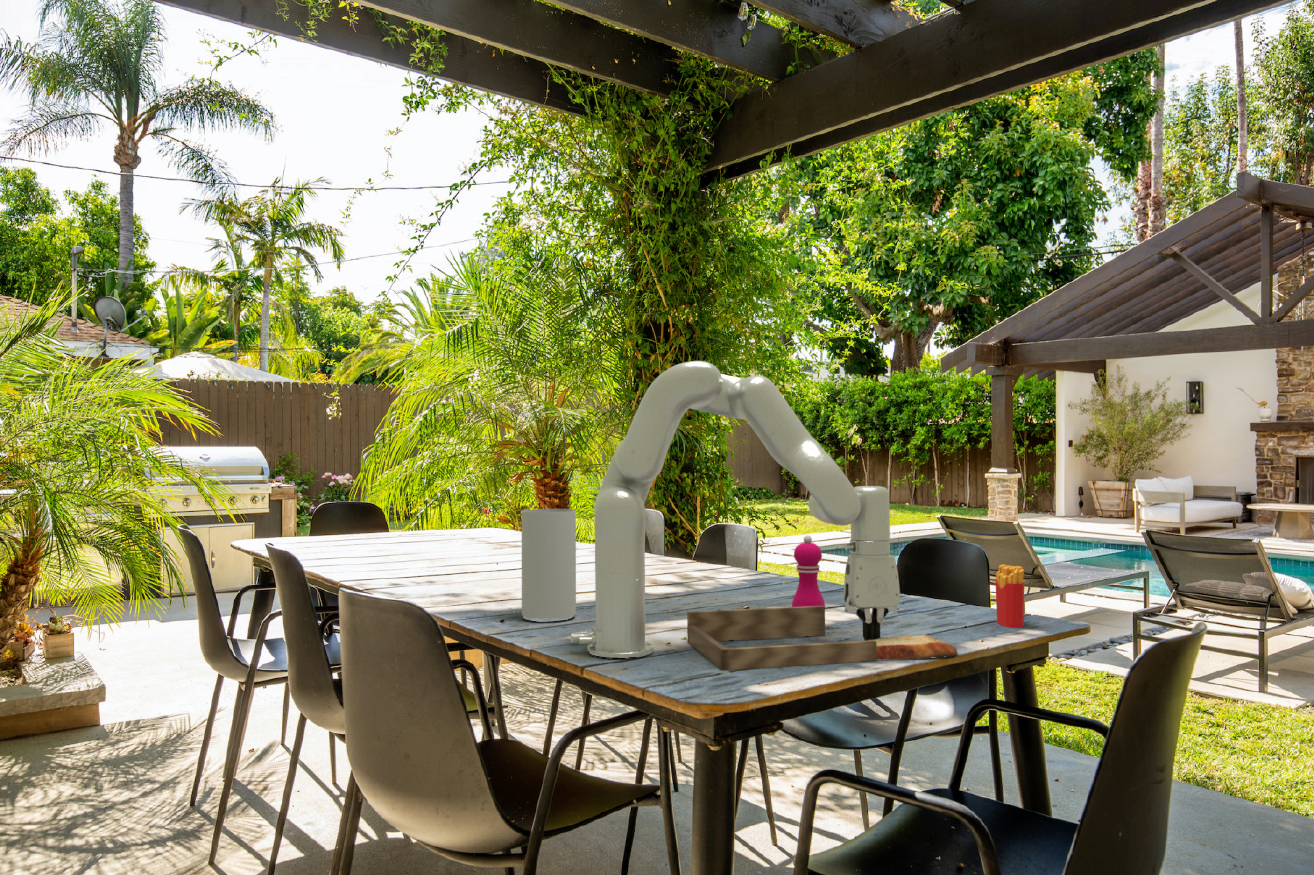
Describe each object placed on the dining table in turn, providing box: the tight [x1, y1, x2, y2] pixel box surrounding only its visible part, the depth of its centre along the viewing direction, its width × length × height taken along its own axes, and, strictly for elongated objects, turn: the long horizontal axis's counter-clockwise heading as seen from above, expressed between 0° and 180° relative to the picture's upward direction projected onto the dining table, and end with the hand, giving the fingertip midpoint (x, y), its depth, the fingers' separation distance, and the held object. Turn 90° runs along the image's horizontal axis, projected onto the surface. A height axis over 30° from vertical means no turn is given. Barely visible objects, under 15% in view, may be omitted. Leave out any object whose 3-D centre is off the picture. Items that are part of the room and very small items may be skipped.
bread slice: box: [867, 634, 958, 660], centre depth 164 cm, size 18×18×4 cm
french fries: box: [994, 563, 1025, 629], centre depth 192 cm, size 9×4×13 cm, turn 2°
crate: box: [686, 605, 878, 671], centre depth 167 cm, size 29×24×6 cm
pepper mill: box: [791, 535, 826, 607], centre depth 190 cm, size 7×7×20 cm
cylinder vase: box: [521, 508, 577, 619], centre depth 203 cm, size 12×12×25 cm
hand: (871, 642), depth 172 cm, fingers closed
